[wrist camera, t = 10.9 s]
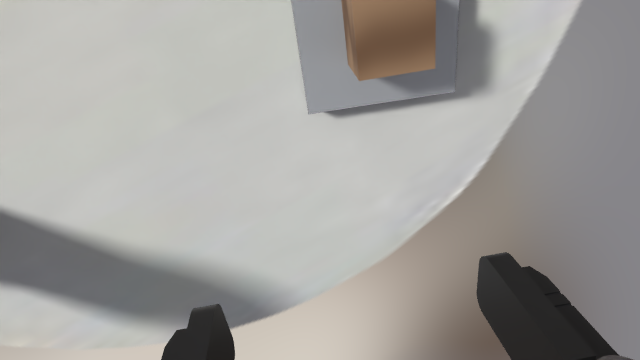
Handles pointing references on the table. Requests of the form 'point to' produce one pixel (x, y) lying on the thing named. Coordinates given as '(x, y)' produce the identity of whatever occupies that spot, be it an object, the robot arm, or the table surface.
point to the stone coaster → (337, 77)
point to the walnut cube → (389, 36)
